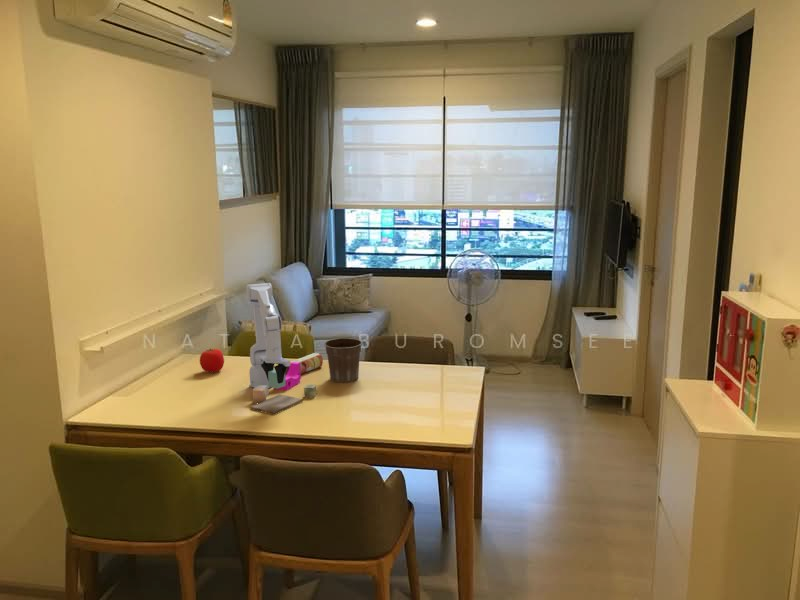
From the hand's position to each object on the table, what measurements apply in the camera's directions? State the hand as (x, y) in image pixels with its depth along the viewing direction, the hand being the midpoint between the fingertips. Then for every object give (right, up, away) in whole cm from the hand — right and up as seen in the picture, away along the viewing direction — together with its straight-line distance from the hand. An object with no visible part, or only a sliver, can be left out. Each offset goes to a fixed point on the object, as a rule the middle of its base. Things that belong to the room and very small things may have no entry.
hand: (275, 381), depth 243 cm
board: (0, -9, +2) cm, 9 cm away
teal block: (0, -2, +1) cm, 2 cm away
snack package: (+4, -2, +44) cm, 44 cm away
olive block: (+12, -7, +12) cm, 18 cm away
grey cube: (-8, -8, +13) cm, 17 cm away
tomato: (-38, -2, +48) cm, 61 cm away
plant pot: (+24, -3, +32) cm, 40 cm away
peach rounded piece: (-7, -9, +7) cm, 13 cm away
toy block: (+1, -5, +27) cm, 28 cm away
